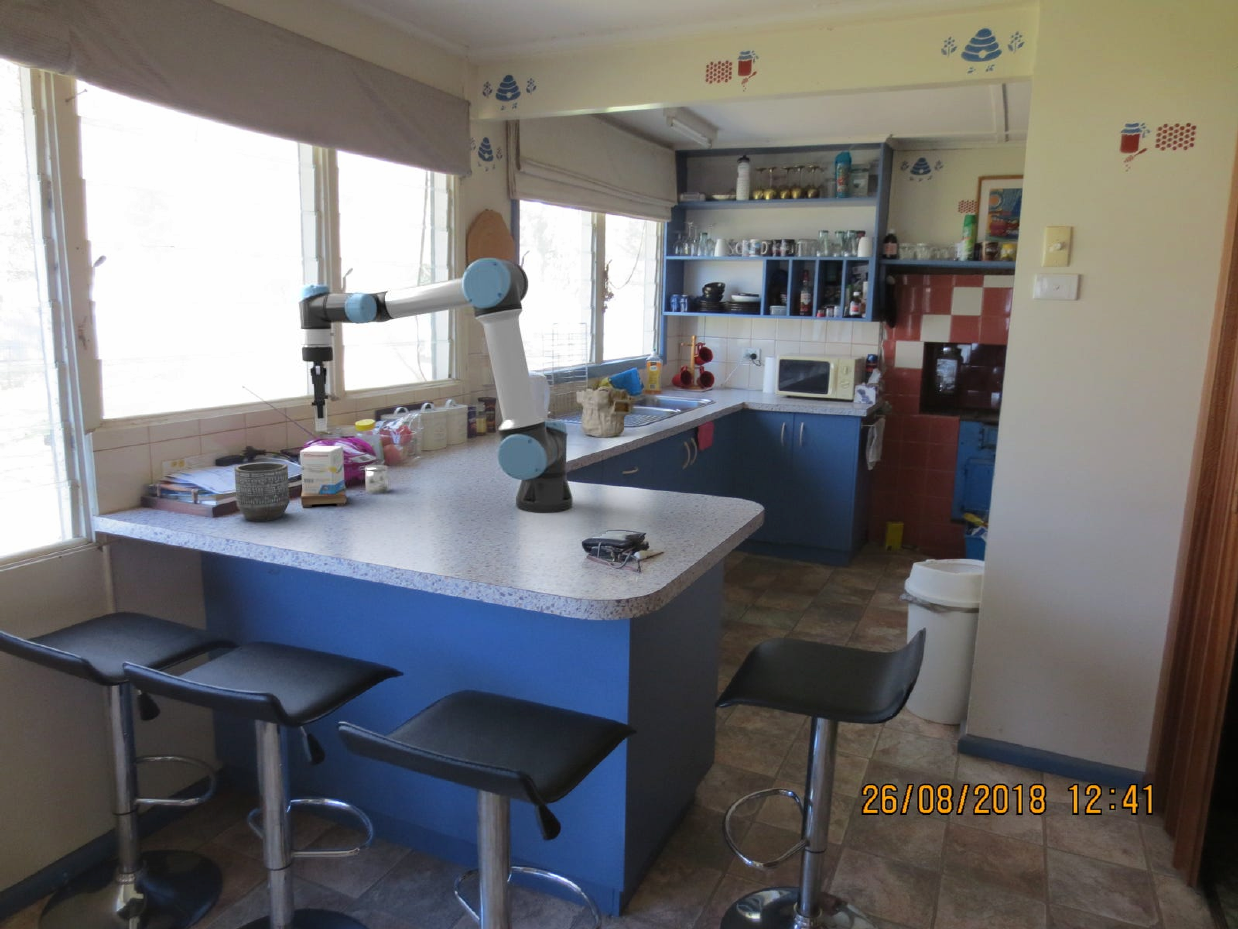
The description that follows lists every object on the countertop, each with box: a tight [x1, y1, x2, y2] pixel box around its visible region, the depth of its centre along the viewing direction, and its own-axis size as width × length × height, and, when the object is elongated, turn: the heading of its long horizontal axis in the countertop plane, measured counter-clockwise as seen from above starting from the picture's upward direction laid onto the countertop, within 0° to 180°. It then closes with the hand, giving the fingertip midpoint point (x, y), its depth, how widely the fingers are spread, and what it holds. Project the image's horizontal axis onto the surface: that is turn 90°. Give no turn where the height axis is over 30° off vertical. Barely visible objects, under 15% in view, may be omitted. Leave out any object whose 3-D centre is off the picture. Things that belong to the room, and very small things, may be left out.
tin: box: [364, 464, 389, 495], centre depth 243 cm, size 6×6×7 cm
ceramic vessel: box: [576, 385, 636, 439], centre depth 353 cm, size 23×24×25 cm
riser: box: [300, 487, 347, 508], centre depth 230 cm, size 11×11×3 cm
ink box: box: [299, 445, 346, 494], centre depth 229 cm, size 9×8×12 cm
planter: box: [234, 461, 290, 522], centre depth 213 cm, size 12×12×13 cm
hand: (321, 427), depth 226 cm, fingers open, 13 cm apart
